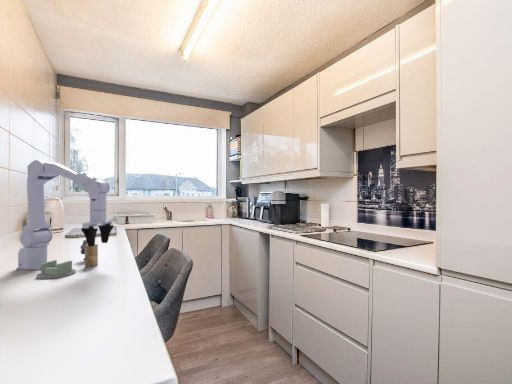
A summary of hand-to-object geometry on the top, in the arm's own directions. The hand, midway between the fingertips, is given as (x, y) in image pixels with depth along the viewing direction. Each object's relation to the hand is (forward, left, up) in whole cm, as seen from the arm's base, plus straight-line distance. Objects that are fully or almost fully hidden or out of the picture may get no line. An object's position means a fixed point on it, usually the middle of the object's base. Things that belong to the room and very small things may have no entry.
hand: (98, 244), depth 112 cm
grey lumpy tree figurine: (-16, +14, -10) cm, 24 cm away
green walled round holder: (-11, -8, -10) cm, 17 cm away
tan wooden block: (-7, +5, -10) cm, 13 cm away
